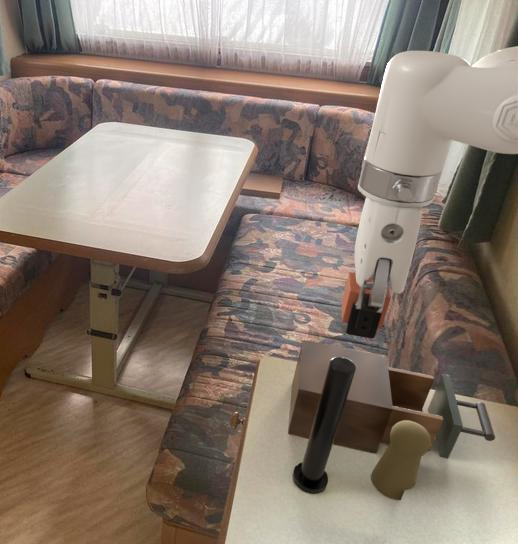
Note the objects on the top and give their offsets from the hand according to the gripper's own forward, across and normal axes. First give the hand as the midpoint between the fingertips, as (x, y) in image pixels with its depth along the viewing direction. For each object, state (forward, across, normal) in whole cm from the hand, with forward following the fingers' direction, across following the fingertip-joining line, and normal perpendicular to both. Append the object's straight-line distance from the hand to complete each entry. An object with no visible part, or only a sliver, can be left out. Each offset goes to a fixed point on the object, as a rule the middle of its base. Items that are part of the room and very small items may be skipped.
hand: (359, 321), depth 69 cm
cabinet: (+29, +14, -2) cm, 32 cm away
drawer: (+28, +14, -16) cm, 35 cm away
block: (-1, 0, 0) cm, 1 cm away
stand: (+29, 0, +1) cm, 29 cm away
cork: (+29, +3, -11) cm, 31 cm away
